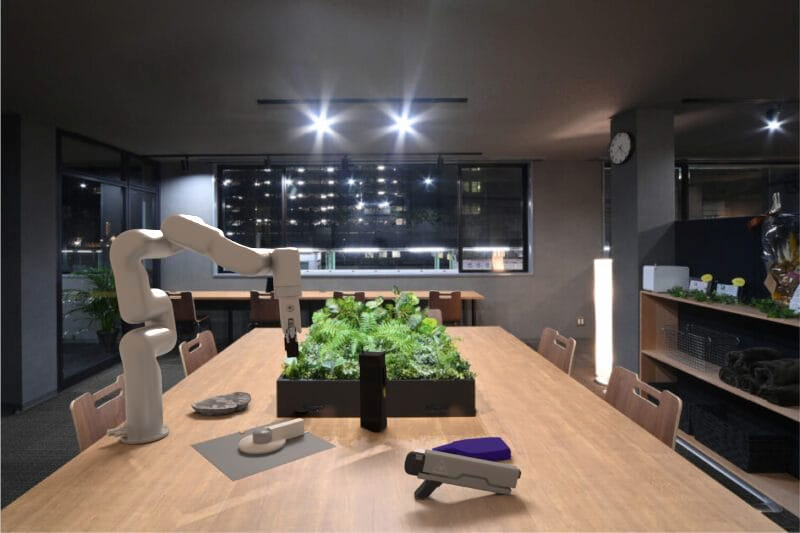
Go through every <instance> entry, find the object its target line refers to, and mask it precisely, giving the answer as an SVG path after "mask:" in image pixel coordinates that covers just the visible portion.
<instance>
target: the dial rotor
mask: <svg viewBox="0 0 800 533" xmlns="http://www.w3.org/2000/svg"><path fill="white" fill-rule="evenodd" d="M286 421H287V422H283V423H280V424H276V425H272V426H269V427H267V428H261V429H257V430H254V431H253V434H252V435H249V436H246V437H244V438H243V439H241V440H240V442H239V450H240V451H241V452H243V453H246V454H265V453H270V452H274V451H276V450H279V449H281V448H282V447H283V446H284V445H285V444H286V440H287V439H290V438H293V437H297V436H300V435H303V434H304V430H305V419H303V418H301V417H299V418H295V419H291V420H286Z"/></svg>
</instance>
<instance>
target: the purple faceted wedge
mask: <svg viewBox="0 0 800 533" xmlns="http://www.w3.org/2000/svg"><path fill="white" fill-rule="evenodd" d="M426 449H428V450H433V451H439V452H444V453H449V454H455V455H460V456H465V457H471V458H476V459H481V460H487V461H492V462H503V461H508V460H510V459H511V458H512V450H511V449H510V447H509V445H508V444H507V443H506V442H505V441H504V440H503V439H502V437H501V436H487V437H475V438H464V439H460V440H459V439H458V440H454V441H451V442H448V443H445V444H442V445H439V446H436V447H432V448H426ZM426 449H421V448H420V449H419V448H418V447H416V448H414V450H413V451H414V452H420V453H425V450H426Z"/></svg>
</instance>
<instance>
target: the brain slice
mask: <svg viewBox="0 0 800 533" xmlns="http://www.w3.org/2000/svg"><path fill="white" fill-rule="evenodd" d="M251 400H252V396H251V394H250V393H248V392H244V391H234V392H230V393H227V394H219V395H212V396H209V397H206V398H205V397H204V398H203V399H201V400H200V401H197V402H193V403H191V405H190V406H191V408H192V409H193V410H194V411H195V412H197V413H199V414H200V413H201V414H202V415H204V416H217V415H218V416H220V415H230V414H232V413H235V412H241V411H243V410H244V409H245V408H246V407H247V406H248V405H249V403H251Z"/></svg>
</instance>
